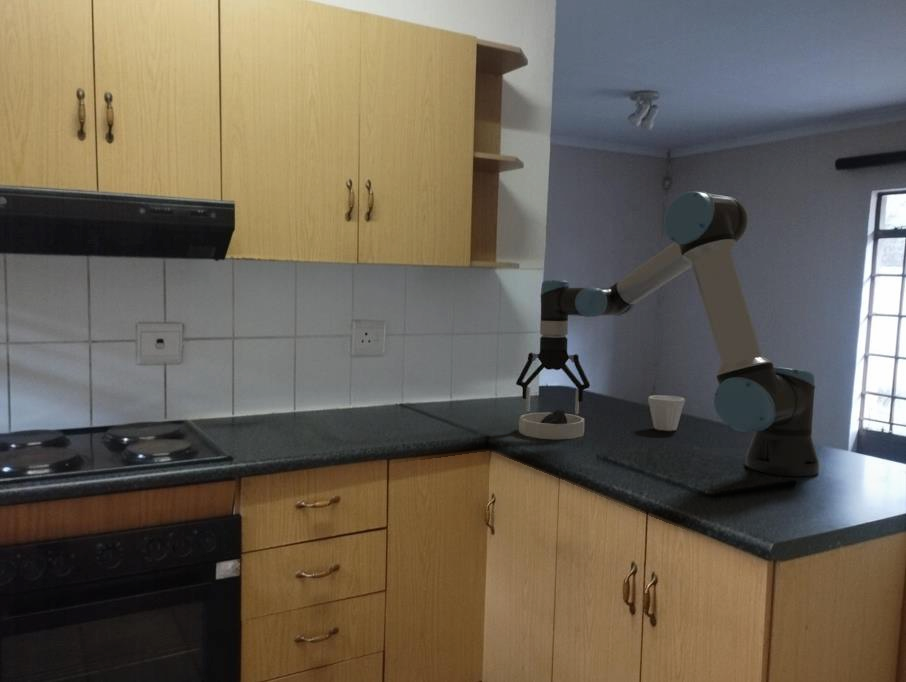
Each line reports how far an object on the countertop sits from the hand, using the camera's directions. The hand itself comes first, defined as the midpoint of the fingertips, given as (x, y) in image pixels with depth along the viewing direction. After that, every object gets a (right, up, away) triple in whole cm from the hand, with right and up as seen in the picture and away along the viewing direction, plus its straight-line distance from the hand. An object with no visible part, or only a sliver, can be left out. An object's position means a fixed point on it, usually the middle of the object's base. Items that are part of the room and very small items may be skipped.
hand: (552, 412), depth 199 cm
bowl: (0, -6, 0) cm, 6 cm away
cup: (+33, -6, +6) cm, 35 cm away
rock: (0, -6, -1) cm, 6 cm away
